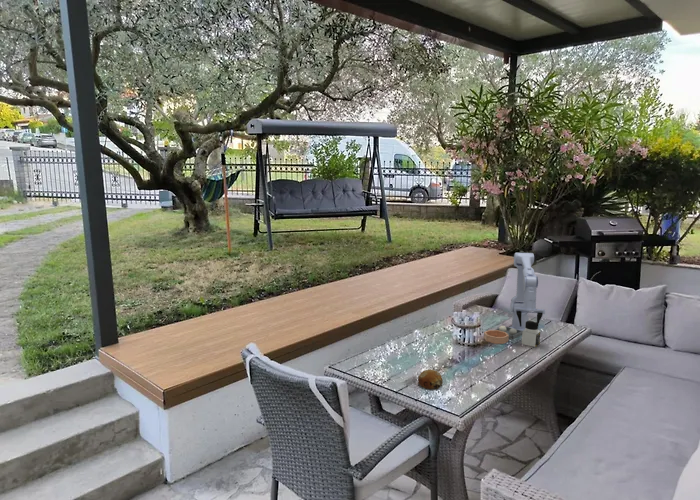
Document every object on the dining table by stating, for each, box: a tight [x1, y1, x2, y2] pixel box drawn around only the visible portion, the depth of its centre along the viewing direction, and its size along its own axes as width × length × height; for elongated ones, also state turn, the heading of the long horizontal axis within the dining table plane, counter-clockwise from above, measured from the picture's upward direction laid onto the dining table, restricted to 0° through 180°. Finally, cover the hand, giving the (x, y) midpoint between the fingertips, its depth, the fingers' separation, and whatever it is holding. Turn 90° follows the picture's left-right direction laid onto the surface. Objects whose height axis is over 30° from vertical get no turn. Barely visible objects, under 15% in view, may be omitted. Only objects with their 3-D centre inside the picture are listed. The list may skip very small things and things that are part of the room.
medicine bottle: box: [521, 320, 541, 348], centre depth 243 cm, size 7×7×12 cm
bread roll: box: [417, 369, 444, 390], centre depth 197 cm, size 10×10×8 cm
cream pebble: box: [498, 325, 507, 332], centre depth 260 cm, size 4×4×4 cm
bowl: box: [483, 329, 510, 345], centre depth 249 cm, size 12×12×4 cm
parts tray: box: [494, 325, 524, 341], centre depth 258 cm, size 12×12×2 cm
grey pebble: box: [509, 328, 517, 336], centre depth 256 cm, size 4×4×4 cm
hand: (528, 327), depth 238 cm, fingers open, 7 cm apart
